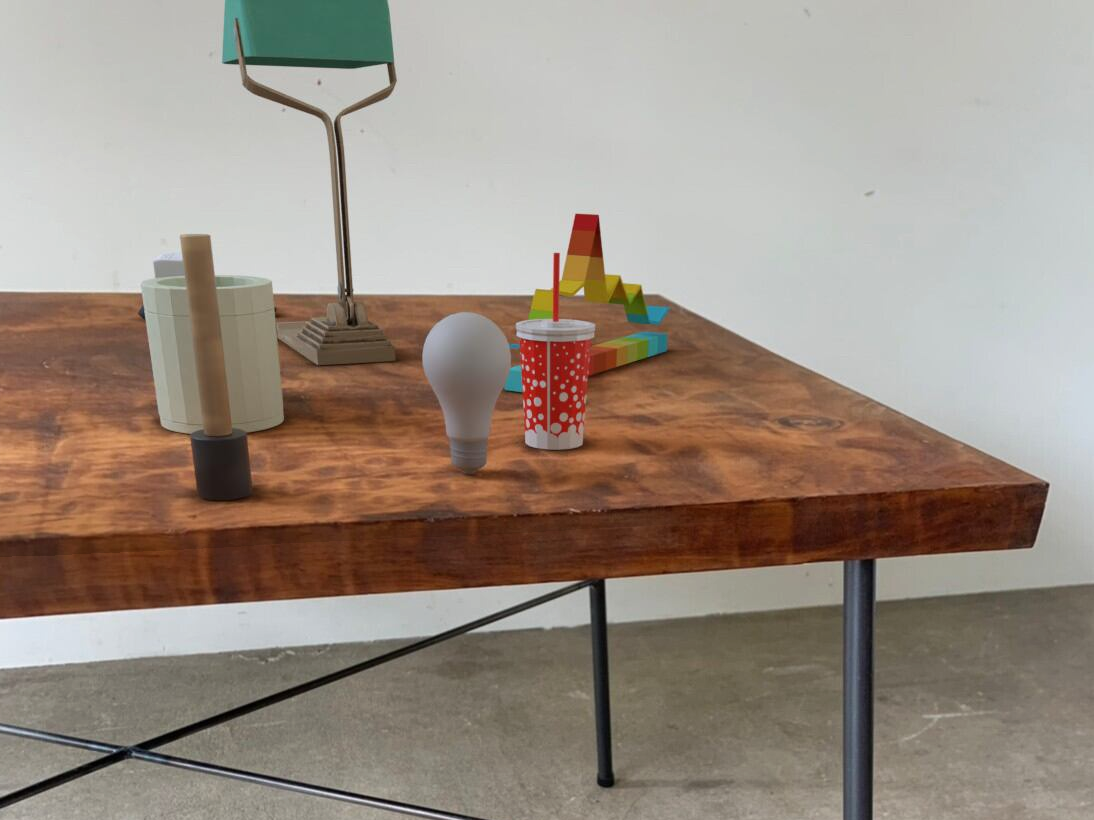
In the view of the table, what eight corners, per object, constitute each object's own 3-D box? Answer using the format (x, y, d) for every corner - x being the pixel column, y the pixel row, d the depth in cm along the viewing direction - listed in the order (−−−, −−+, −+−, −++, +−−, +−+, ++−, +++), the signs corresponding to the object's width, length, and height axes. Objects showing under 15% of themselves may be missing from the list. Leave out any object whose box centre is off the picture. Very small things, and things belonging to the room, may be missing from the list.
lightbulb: (505, 462, 87) (504, 306, 81) (517, 483, 81) (517, 318, 76) (423, 464, 86) (417, 306, 80) (430, 486, 80) (423, 319, 75)
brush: (204, 503, 76) (170, 237, 68) (192, 489, 79) (158, 233, 71) (258, 497, 77) (231, 236, 70) (245, 484, 80) (218, 232, 73)
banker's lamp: (282, 367, 120) (246, -36, 104) (244, 337, 137) (207, -14, 121) (427, 358, 126) (414, -25, 110) (373, 331, 143) (355, -4, 127)
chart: (641, 348, 134) (648, 206, 128) (666, 351, 133) (675, 207, 126) (502, 390, 111) (501, 219, 104) (530, 393, 110) (532, 220, 103)
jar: (174, 439, 91) (154, 291, 86) (150, 414, 99) (130, 277, 94) (298, 428, 95) (286, 286, 90) (266, 405, 103) (253, 273, 98)
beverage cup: (599, 436, 94) (604, 251, 88) (583, 454, 89) (589, 258, 83) (526, 431, 95) (526, 248, 89) (506, 449, 90) (506, 255, 84)
